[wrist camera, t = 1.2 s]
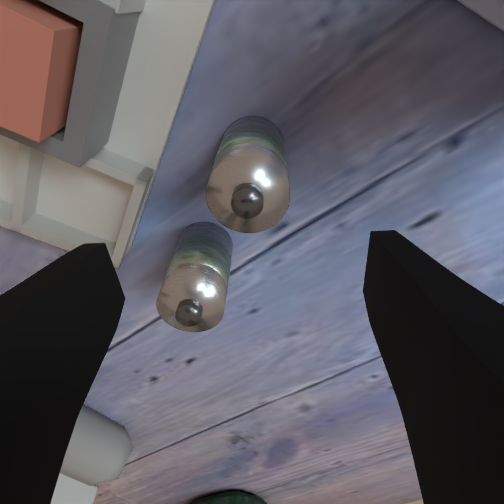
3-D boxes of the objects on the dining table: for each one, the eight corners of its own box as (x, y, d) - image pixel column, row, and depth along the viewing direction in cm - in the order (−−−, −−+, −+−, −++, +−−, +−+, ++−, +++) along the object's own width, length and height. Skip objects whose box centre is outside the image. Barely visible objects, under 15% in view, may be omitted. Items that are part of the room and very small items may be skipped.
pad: (93, 24, 14) (54, 30, 11) (75, 119, 16) (38, 142, 13) (-16, -31, 13) (-85, -38, 10) (-20, 77, 15) (-78, 93, 12)
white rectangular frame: (269, -156, 12) (269, -211, 9) (131, 247, 22) (107, 291, 19) (-92, -402, 10) (-268, -599, 7) (-69, 171, 20) (-136, 206, 16)
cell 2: (297, 134, 18) (307, 186, 13) (267, 188, 20) (266, 252, 15) (236, 103, 17) (223, 146, 12) (211, 163, 19) (190, 221, 14)
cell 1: (242, 235, 21) (234, 306, 16) (220, 274, 23) (207, 349, 18) (189, 213, 21) (165, 280, 16) (171, 255, 22) (144, 327, 17)
